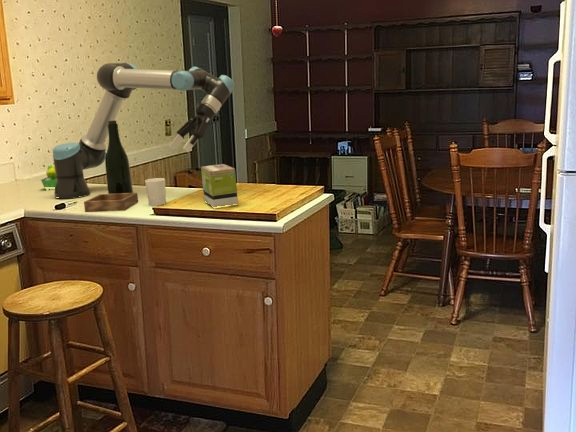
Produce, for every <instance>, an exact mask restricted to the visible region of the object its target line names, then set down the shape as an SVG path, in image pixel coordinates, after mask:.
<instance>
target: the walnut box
mask: <svg viewBox="0 0 576 432" xmlns="http://www.w3.org/2000/svg"><path fill="white" fill-rule="evenodd" d="M138 203H139V195H138V192H133V193H118V194H108V193H101V194H100V193H99V194H97V195H96V196H93V197H91V198H89V199H88V200H85V201H84V202H83V204H84V205H83V206H84V212H85V213H92V212H93V213H96V212H119V211H120V212H121V211H126V210H128V209H130V208H132V207H133V206H134V205H136V204H138Z"/></svg>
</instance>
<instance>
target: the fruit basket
mask: <svg viewBox="0 0 576 432" xmlns="http://www.w3.org/2000/svg"><path fill="white" fill-rule="evenodd" d="M45 174H46V176H47V177H44V178H42V179H40V181H41V183H42V186H43V188H44V187H56V182H57V179H56V172H55V166H53V165H48V167H47V170H46V173H45Z"/></svg>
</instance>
